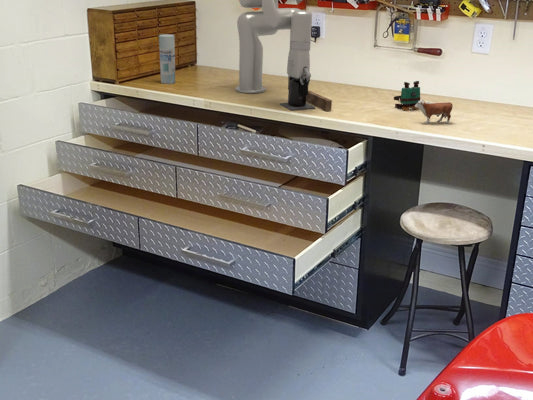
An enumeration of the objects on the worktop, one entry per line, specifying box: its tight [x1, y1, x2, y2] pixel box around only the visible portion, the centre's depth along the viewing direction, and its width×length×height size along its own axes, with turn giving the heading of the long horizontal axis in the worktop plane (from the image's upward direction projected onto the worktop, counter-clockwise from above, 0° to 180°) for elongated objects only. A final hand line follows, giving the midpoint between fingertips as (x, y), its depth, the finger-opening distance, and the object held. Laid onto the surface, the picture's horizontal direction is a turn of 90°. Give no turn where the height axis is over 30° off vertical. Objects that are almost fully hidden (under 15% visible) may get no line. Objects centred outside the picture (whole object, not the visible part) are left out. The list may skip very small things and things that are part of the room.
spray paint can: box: [158, 33, 176, 85], centre depth 272 cm, size 6×6×20 cm
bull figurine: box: [415, 98, 453, 125], centre depth 221 cm, size 4×13×8 cm, turn 95°
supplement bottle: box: [287, 77, 307, 107], centre depth 237 cm, size 7×7×12 cm
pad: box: [279, 102, 316, 111], centre depth 239 cm, size 10×10×1 cm
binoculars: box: [393, 80, 421, 111], centre depth 241 cm, size 9×11×10 cm
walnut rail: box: [306, 90, 333, 112], centre depth 241 cm, size 18×2×4 cm, turn 24°
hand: (297, 92), depth 238 cm, fingers open, 9 cm apart
